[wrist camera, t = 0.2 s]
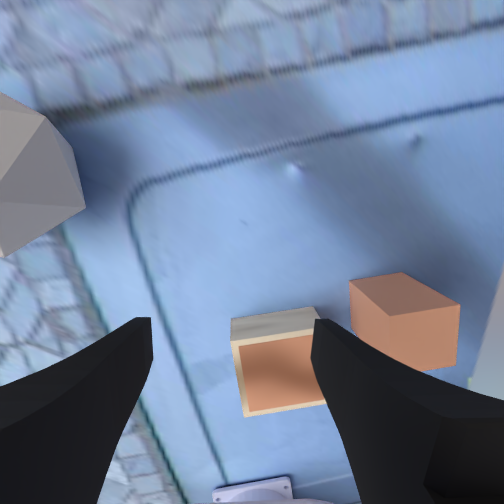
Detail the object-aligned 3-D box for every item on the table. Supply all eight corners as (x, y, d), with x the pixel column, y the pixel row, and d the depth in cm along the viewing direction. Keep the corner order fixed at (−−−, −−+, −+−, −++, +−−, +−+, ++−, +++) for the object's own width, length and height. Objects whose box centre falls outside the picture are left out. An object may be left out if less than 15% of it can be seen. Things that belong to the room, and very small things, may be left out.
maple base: (317, 372, 25) (330, 403, 21) (242, 384, 24) (244, 418, 21) (311, 304, 23) (325, 326, 19) (230, 317, 23) (230, 342, 19)
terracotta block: (401, 319, 23) (455, 365, 18) (351, 327, 23) (389, 376, 18) (401, 271, 22) (460, 304, 16) (348, 280, 22) (389, 316, 16)
